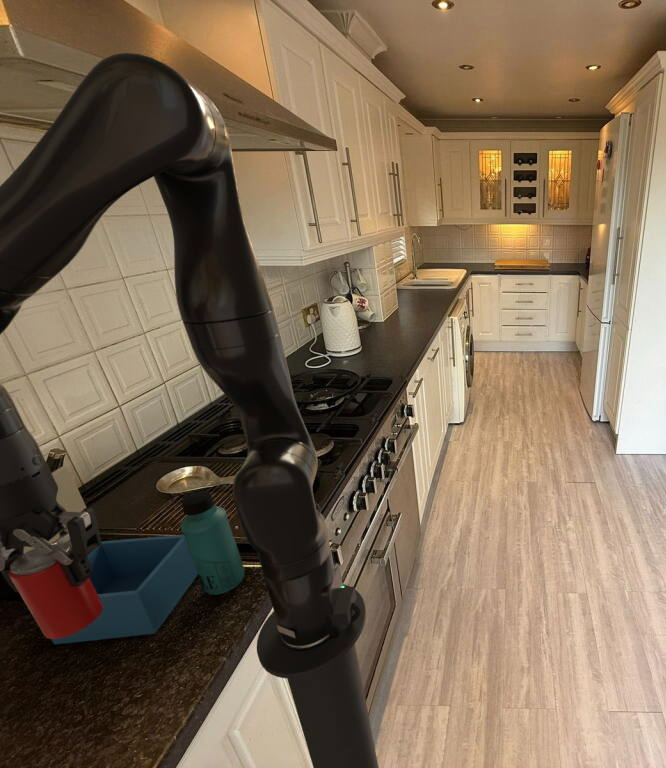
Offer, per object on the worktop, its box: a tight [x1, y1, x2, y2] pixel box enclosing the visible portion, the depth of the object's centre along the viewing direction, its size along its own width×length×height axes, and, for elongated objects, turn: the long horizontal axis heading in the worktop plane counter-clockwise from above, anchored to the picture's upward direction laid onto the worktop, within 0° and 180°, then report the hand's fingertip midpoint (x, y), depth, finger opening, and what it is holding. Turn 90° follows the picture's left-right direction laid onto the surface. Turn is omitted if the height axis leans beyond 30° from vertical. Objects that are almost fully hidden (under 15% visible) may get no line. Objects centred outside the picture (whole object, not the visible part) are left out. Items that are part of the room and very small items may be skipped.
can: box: [9, 543, 103, 640], centre depth 52 cm, size 6×6×11 cm
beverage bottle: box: [180, 490, 246, 596], centre depth 70 cm, size 6×7×20 cm
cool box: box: [50, 534, 199, 645], centre depth 69 cm, size 14×13×9 cm
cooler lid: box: [24, 465, 87, 553], centre depth 63 cm, size 15×13×6 cm
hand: (55, 582), depth 52 cm, fingers closed on can, 5 cm apart
